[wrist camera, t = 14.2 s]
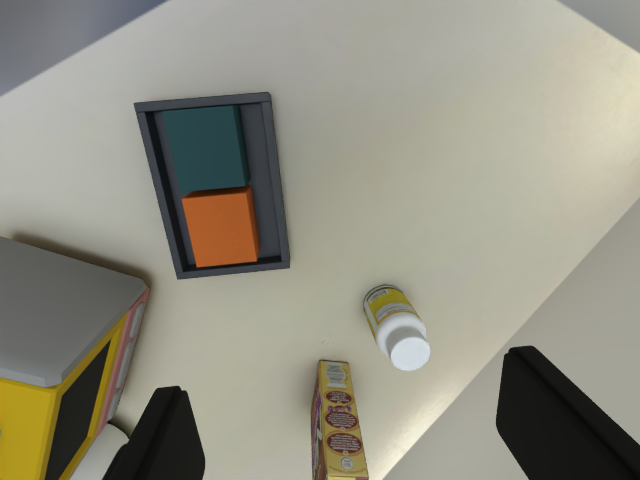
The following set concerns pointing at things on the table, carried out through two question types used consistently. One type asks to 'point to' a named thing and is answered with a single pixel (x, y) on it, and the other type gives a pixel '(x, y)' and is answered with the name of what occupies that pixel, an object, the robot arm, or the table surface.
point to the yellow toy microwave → (60, 357)
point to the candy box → (336, 426)
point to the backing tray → (262, 182)
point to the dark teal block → (208, 147)
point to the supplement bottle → (397, 328)
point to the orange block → (222, 226)
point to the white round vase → (100, 454)
